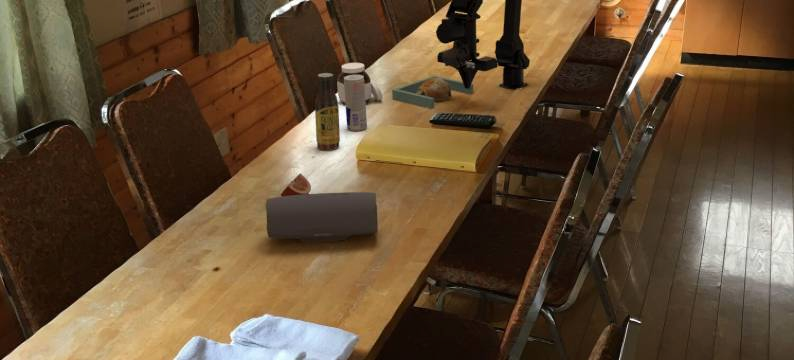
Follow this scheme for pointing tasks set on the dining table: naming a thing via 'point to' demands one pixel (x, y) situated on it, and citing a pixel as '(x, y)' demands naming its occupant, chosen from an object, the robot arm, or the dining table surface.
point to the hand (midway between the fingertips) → (467, 88)
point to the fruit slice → (297, 187)
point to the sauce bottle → (327, 114)
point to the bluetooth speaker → (322, 216)
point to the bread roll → (435, 89)
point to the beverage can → (355, 102)
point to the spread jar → (370, 85)
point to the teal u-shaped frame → (409, 96)
